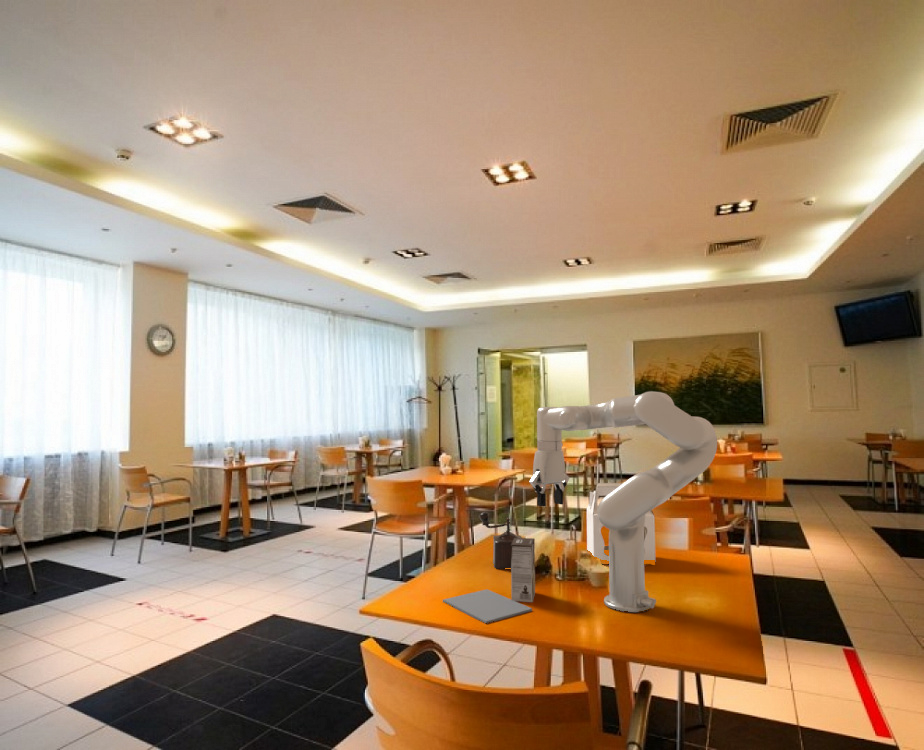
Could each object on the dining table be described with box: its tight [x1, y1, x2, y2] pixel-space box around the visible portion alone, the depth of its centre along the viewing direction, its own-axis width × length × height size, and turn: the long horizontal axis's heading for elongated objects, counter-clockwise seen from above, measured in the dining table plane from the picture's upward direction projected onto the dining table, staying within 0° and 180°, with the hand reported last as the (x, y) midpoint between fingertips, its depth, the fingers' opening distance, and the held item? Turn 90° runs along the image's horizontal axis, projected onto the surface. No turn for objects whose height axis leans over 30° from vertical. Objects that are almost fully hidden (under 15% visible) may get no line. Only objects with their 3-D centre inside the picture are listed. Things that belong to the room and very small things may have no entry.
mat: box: [442, 588, 533, 624], centre depth 152 cm, size 20×16×1 cm
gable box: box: [586, 482, 656, 561], centre depth 202 cm, size 22×13×28 cm, turn 87°
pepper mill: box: [478, 511, 523, 570], centre depth 195 cm, size 16×11×18 cm
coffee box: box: [510, 537, 536, 603], centre depth 161 cm, size 9×6×16 cm
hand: (550, 504), depth 169 cm, fingers open, 6 cm apart
